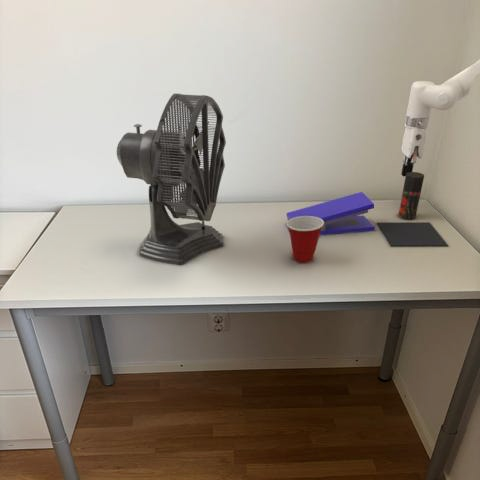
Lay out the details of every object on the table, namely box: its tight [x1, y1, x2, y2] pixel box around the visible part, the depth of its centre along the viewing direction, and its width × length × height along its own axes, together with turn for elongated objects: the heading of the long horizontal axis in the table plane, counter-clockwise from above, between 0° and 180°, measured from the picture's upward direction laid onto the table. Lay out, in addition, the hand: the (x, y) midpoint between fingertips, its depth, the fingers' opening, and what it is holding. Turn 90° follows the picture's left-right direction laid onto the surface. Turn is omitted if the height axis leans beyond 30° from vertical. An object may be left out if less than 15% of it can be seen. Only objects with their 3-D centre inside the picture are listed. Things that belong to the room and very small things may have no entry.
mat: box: [376, 221, 449, 248], centre depth 169 cm, size 18×18×1 cm
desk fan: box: [116, 93, 227, 266], centre depth 145 cm, size 34×33×45 cm
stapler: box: [286, 191, 376, 236], centre depth 171 cm, size 12×28×10 cm, turn 101°
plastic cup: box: [286, 216, 324, 264], centre depth 151 cm, size 11×11×12 cm
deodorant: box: [397, 171, 425, 221], centre depth 177 cm, size 6×6×15 cm
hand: (406, 175), depth 182 cm, fingers closed
